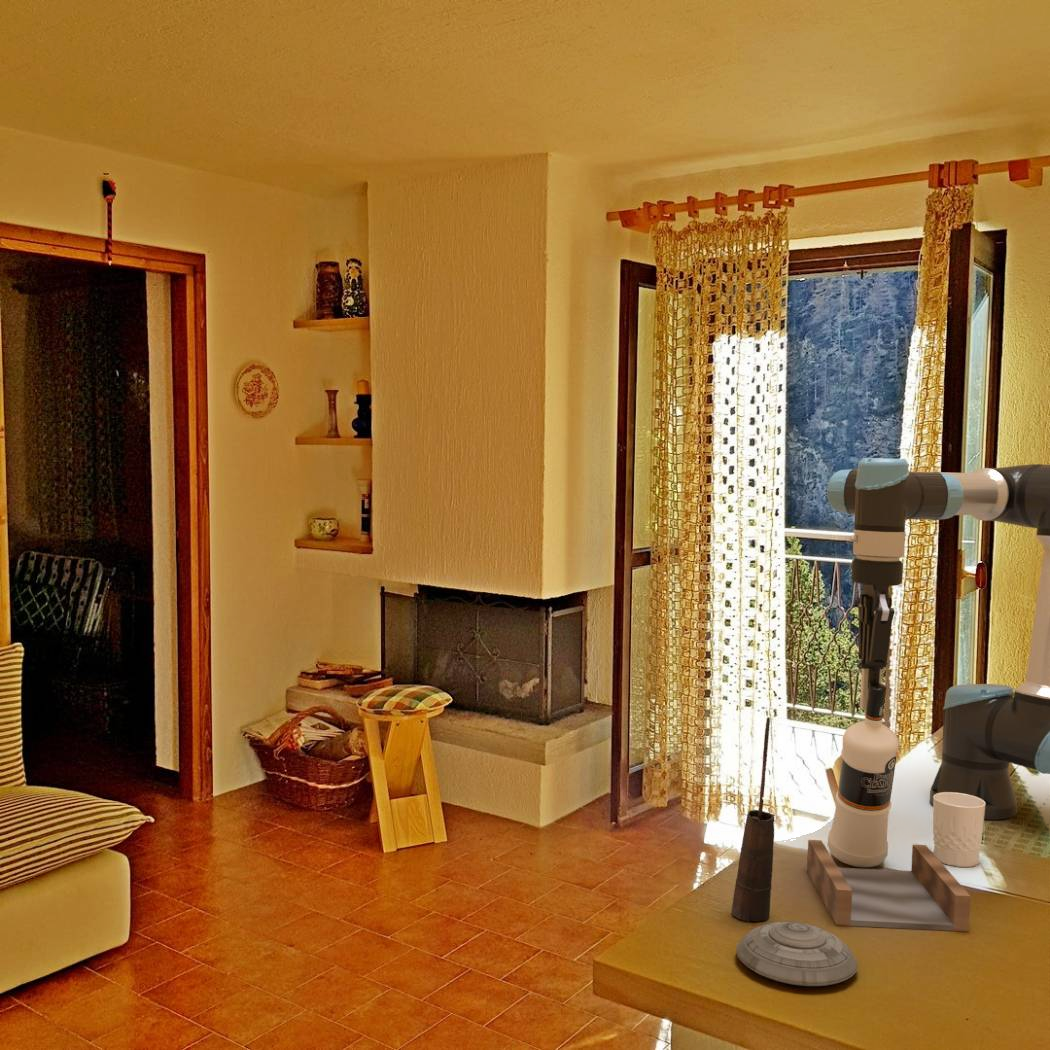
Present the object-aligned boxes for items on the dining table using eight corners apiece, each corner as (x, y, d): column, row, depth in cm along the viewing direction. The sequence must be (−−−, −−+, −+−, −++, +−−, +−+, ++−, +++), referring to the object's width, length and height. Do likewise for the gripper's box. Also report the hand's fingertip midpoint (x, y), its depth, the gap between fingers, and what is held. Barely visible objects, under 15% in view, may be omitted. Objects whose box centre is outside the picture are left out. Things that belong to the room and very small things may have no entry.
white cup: (983, 872, 176) (986, 809, 175) (929, 864, 178) (933, 803, 178) (981, 855, 183) (984, 795, 182) (930, 848, 186) (933, 789, 185)
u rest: (806, 871, 174) (808, 839, 174) (924, 876, 173) (925, 845, 173) (835, 925, 154) (837, 889, 154) (968, 931, 153) (970, 896, 153)
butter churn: (761, 939, 149) (770, 732, 147) (702, 917, 155) (710, 719, 154) (797, 919, 155) (806, 721, 154) (738, 899, 162) (746, 709, 160)
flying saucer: (882, 988, 137) (884, 944, 136) (772, 1002, 132) (774, 957, 132) (816, 936, 151) (818, 897, 150) (715, 947, 147) (717, 907, 146)
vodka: (853, 829, 185) (874, 666, 175) (899, 858, 178) (923, 689, 168) (814, 847, 181) (833, 680, 171) (859, 877, 173) (882, 705, 163)
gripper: (843, 553, 179) (836, 699, 180) (863, 561, 166) (855, 718, 167) (891, 555, 178) (883, 701, 180) (914, 563, 165) (906, 720, 167)
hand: (869, 709), depth 173 cm, fingers closed
